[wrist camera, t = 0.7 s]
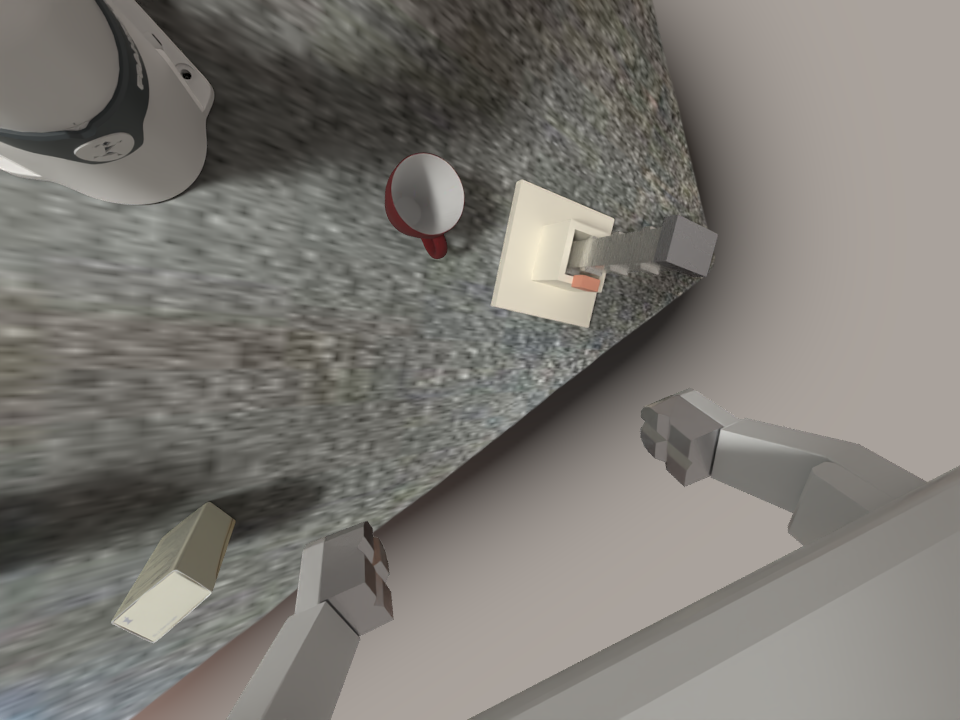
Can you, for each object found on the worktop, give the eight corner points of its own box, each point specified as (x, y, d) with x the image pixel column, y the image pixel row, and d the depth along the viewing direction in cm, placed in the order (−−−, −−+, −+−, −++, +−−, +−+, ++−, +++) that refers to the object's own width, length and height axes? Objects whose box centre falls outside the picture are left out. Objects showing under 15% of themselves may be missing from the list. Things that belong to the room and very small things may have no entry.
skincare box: (192, 556, 43) (152, 647, 33) (159, 536, 42) (106, 625, 31) (238, 518, 45) (214, 593, 34) (209, 497, 43) (174, 569, 32)
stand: (490, 305, 54) (526, 310, 45) (516, 182, 52) (559, 160, 43) (582, 326, 62) (628, 334, 53) (607, 220, 60) (659, 209, 51)
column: (532, 270, 55) (665, 262, 34) (539, 240, 55) (678, 213, 34) (564, 280, 58) (706, 277, 37) (571, 251, 58) (718, 233, 37)
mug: (457, 241, 50) (489, 232, 41) (410, 273, 48) (432, 270, 39) (414, 166, 45) (439, 137, 37) (360, 197, 44) (373, 175, 35)
